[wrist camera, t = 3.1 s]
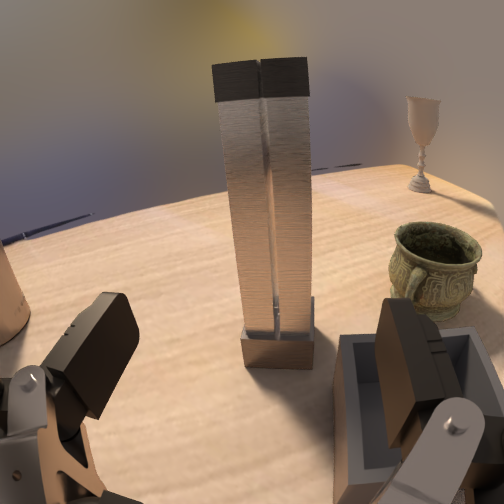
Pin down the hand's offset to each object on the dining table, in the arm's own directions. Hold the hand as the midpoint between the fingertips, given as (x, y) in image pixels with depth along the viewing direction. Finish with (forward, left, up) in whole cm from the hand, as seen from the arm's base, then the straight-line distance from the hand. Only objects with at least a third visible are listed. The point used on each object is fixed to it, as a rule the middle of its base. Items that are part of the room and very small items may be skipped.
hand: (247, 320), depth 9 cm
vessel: (+20, +7, -12) cm, 25 cm away
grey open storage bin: (+8, -3, -12) cm, 15 cm away
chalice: (+47, +31, -12) cm, 58 cm away
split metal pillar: (+5, +9, -12) cm, 16 cm away
